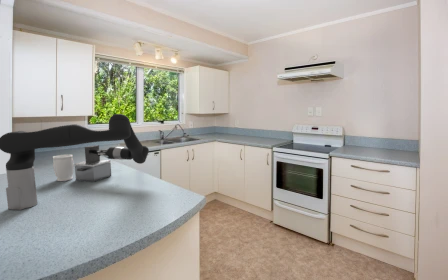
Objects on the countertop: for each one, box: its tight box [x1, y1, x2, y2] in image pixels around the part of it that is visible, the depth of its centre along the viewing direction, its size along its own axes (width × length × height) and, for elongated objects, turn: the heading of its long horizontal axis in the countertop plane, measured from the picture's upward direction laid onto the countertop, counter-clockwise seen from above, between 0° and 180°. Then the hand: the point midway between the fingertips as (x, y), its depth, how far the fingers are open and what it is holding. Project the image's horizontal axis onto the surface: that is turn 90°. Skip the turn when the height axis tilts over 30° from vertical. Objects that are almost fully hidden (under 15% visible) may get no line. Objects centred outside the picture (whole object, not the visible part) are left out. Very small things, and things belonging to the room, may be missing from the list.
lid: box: [74, 144, 111, 167], centre depth 148 cm, size 14×14×11 cm
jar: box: [52, 153, 75, 182], centre depth 146 cm, size 11×10×15 cm
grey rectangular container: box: [74, 162, 112, 183], centre depth 150 cm, size 20×14×9 cm
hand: (94, 151), depth 148 cm, fingers closed
